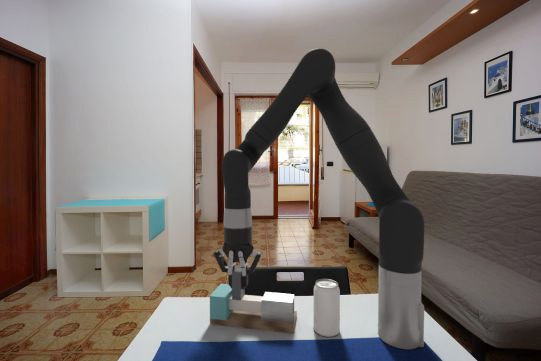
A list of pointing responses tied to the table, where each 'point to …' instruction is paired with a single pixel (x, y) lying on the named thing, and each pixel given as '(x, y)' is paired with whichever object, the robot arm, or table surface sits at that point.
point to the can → (326, 308)
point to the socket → (220, 302)
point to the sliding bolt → (242, 296)
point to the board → (254, 322)
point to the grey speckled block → (277, 307)
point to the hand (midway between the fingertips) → (238, 287)
